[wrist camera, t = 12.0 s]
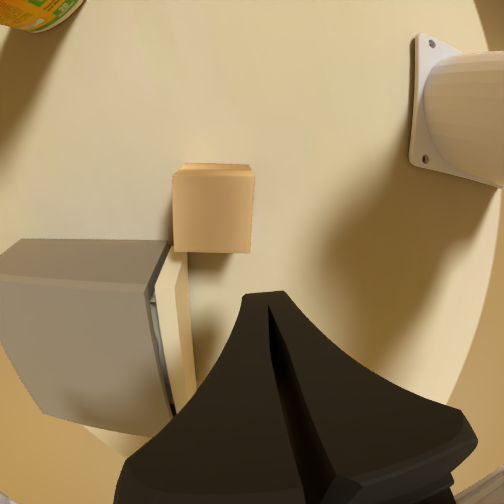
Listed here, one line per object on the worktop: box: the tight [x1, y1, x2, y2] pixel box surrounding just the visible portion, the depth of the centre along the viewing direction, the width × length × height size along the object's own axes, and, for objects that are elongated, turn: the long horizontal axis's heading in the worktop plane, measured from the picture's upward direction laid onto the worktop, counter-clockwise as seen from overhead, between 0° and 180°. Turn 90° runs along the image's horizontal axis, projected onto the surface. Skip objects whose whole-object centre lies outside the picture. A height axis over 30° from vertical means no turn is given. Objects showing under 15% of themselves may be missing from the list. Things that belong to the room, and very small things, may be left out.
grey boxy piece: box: [0, 239, 177, 437], centre depth 14 cm, size 10×11×5 cm
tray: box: [150, 246, 197, 413], centre depth 15 cm, size 10×11×4 cm
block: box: [172, 163, 255, 253], centre depth 12 cm, size 3×3×4 cm
